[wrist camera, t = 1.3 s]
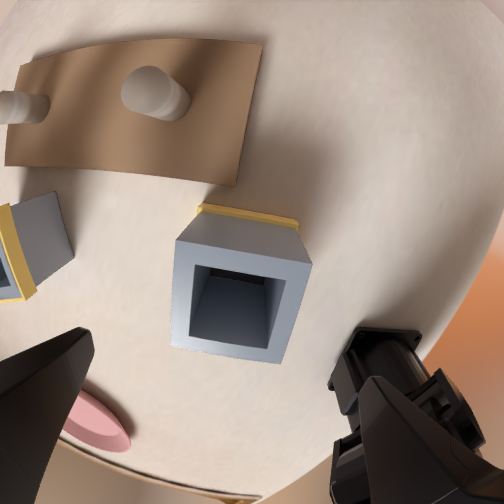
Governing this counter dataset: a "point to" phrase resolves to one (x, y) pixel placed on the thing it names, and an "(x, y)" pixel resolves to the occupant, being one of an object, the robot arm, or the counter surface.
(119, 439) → the plate
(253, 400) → the counter surface
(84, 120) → the pin board
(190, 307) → the sleeve band down
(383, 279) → the counter surface
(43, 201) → the sleeve band up
